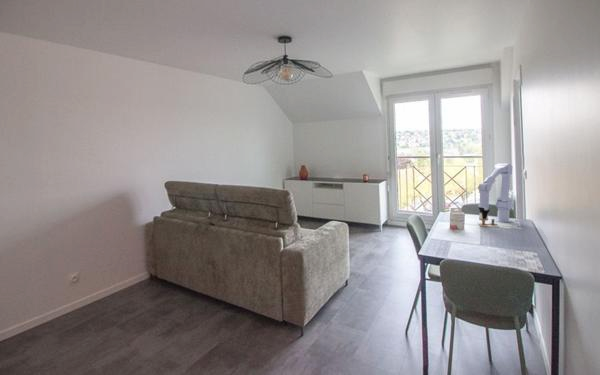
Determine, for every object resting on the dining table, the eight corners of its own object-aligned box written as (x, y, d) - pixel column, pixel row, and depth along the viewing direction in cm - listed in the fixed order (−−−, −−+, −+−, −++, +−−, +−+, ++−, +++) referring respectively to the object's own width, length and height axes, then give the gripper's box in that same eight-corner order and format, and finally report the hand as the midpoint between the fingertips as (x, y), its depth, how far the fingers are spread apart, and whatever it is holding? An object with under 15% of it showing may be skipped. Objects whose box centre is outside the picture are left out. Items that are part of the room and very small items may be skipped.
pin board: (477, 223, 243) (477, 217, 243) (495, 224, 239) (496, 217, 239) (480, 227, 234) (480, 220, 233) (499, 227, 230) (499, 220, 229)
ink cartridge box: (452, 229, 230) (452, 209, 229) (449, 227, 235) (449, 207, 233) (464, 229, 230) (465, 209, 228) (461, 227, 234) (462, 207, 233)
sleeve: (483, 218, 240) (483, 212, 240) (489, 220, 235) (489, 213, 234) (477, 219, 239) (477, 212, 239) (483, 221, 234) (483, 214, 233)
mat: (495, 223, 242) (495, 222, 242) (509, 223, 239) (509, 223, 239) (498, 226, 234) (498, 225, 234) (513, 226, 231) (513, 226, 231)
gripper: (476, 197, 243) (475, 215, 245) (480, 201, 230) (479, 220, 231) (486, 198, 241) (486, 216, 243) (491, 201, 227) (490, 220, 229)
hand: (483, 218), depth 237 cm, fingers closed on sleeve, 5 cm apart
